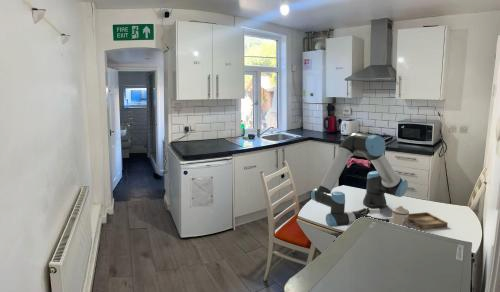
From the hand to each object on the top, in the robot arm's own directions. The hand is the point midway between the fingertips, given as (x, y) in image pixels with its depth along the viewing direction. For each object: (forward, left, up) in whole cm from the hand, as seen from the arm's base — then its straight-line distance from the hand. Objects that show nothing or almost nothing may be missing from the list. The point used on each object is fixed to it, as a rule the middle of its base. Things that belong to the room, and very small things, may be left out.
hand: (386, 215), depth 205 cm
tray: (+1, +26, -7) cm, 27 cm away
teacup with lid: (0, +10, -7) cm, 12 cm away
